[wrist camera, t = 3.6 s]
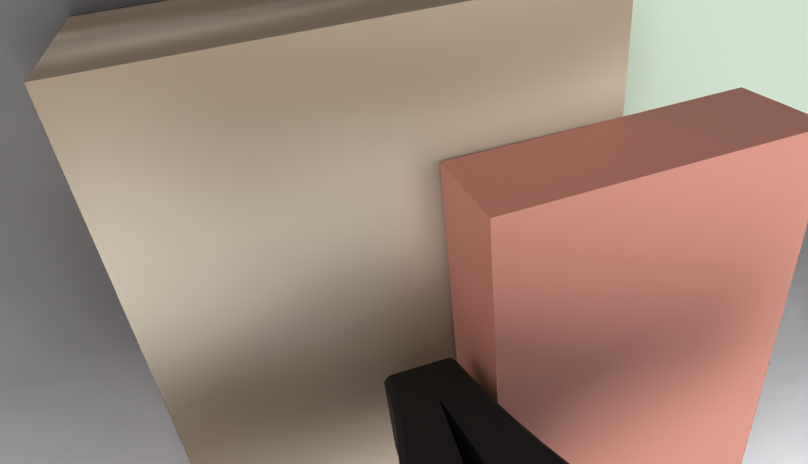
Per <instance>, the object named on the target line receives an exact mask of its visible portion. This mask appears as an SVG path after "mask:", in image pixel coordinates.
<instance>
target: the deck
mask: <svg viewBox="0 0 808 464" xmlns="http://www.w3.org/2000/svg"><path fill="white" fill-rule="evenodd" d="M632 9H633V0H168V1H162V2H156V3H150V4H144V5H138V6H132V7H126V8H120V9H114V10H108V11H102V12H96V13H90V14H84V15H78V16H72V17H68V18H67V20H66V21H65V23H64V24H63V26H62V27H61V29H60V30H59V32H58V33H57V35H56V36H55V37H54V39H53V40H52V42H51V43H50V45H49V46H48V48H47V49H46V51H45V52H44V54H43V55H42V57H41V58H40V60H39V61H38V63H37V64H36V66H35V67H34V69H33V70H32V71H31V73H30V74H29V76H28V77H27V79H26V80H25V82H24V83H25V86H26V88H27V90H28V93H29V95H30V97H31V99H32V102H33V104H34V106H35V109H36V111H37V113H38V115H39V118H40V120H41V122H42V125H43V127H44V129H45V131H46V134H47V136H48V138H49V141H50V143H51V145H52V147H53V150H54V152H55V154H56V156H57V159H58V161H59V163H60V166H61V168H62V170H63V172H64V175H65V177H66V179H67V182H68V184H69V186H70V188H71V191H72V193H73V195H74V198H75V200H76V202H77V204H78V207H79V209H80V211H81V214H82V216H83V218H84V220H85V223H86V225H87V227H88V229H89V232H90V234H91V236H92V239H93V241H94V243H95V245H96V248H97V250H98V252H99V255H100V257H101V259H102V261H103V264H104V266H105V268H106V271H107V273H108V275H109V277H110V280H111V282H112V284H113V287H114V289H115V291H116V293H117V296H118V298H119V300H120V302H121V305H122V307H123V309H124V312H125V314H126V316H127V318H128V321H129V323H130V325H131V328H132V330H133V332H134V334H135V337H136V339H137V341H138V344H139V346H140V348H141V350H142V353H143V355H144V357H145V360H146V362H147V364H148V366H149V369H150V371H151V373H152V375H153V378H154V380H155V382H156V385H157V387H158V389H159V391H160V394H161V396H162V398H163V401H164V403H165V405H166V407H167V410H168V412H169V414H170V417H171V419H172V421H173V423H174V426H175V428H176V430H177V433H178V435H179V437H180V439H181V442H182V444H183V446H184V448H185V451H186V453H187V455H188V458H189V460H190V462H191V464H399V457H398V454H397V450H396V447H395V442H394V436H393V431H392V425H391V419H390V414H389V408H388V402H387V396H386V391H385V385H384V381H385V380H386V379H387V377H388V376H389V375H393V374H396V373H399V372H403V371H406V370H409V369H413V368H416V367H419V366H423V365H426V364H429V363H433V362H436V361H439V360H443V359H446V358H449V357H451V358H452V359H454V360H456V361H457V356H456V345H455V333H454V322H453V310H452V299H451V287H450V276H449V264H448V253H447V241H446V230H445V219H444V207H443V196H442V184H441V173H440V162H442V161H446V160H450V159H454V158H458V157H462V156H466V155H470V154H474V153H478V152H482V151H486V150H490V149H494V148H498V147H502V146H507V145H511V144H515V143H519V142H523V141H527V140H531V139H535V138H539V137H543V136H547V135H551V134H555V133H559V132H563V131H567V130H571V129H575V128H579V127H583V126H587V125H591V124H595V123H599V122H603V121H607V120H611V119H615V118H619V117H623V114H624V102H625V91H626V79H627V68H628V56H629V44H630V33H631V21H632Z"/></svg>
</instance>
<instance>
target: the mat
mask: <svg viewBox="0 0 808 464" xmlns="http://www.w3.org/2000/svg"><path fill="white" fill-rule="evenodd" d="M740 87H742V88H745V89H747V90H750V91H752V92H755V93H757V94H760V95H762V96H765V97H767V98H770V99H772V100H775V101H777V102H780V103H782V104H785V105H787V106H790V107H792V108H795V109H797V110H799V111H802V112H804V113H807V114H808V0H633V9H632V21H631V33H630V44H629V56H628V68H627V79H626V91H625V102H624V114H623V116H627V115H631V114H635V113H639V112H643V111H647V110H652V109H656V108H660V107H664V106H668V105H672V104H676V103H680V102H684V101H688V100H692V99H696V98H700V97H704V96H708V95H712V94H716V93H720V92H724V91H728V90H732V89H736V88H740Z"/></svg>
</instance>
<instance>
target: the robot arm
mask: <svg viewBox="0 0 808 464" xmlns="http://www.w3.org/2000/svg"><path fill="white" fill-rule="evenodd" d="M384 385H385V391H386V396H387V402H388V408H389V414H390V419H391V425H392V431H393V436H394V442H395V447H396V450H397V454H398V457H399V464H569V463H568V462H567V461H566V460H564V459H563V458H562V457H560V456H559V455H558V454H557V453H555V452H554V451H553V450H551V449H550V448H549V447H548V446H547V445H545V444H544V443H543V442H542V441H540V440H539V439H538V438H537V437H536V436H534V435H533V434H532V433H531V432H530V431H529V430H528V429H526V428H525V427H524V426H523V425H522V424H521V423H519V422H518V421H517V420H516V419H515V418H514V417H513V416H511V415H510V414H509V413H508V412H507V411H506V410H505V409H504V408H503V407H502V406H500V405H499V404H498V403H497V402H496V401H495V400H494V399H493V398H492V397H491V396H490V395H489V394H488V393H487V392H486V391H485V390H484V389H483V388H482V387H481V386H480V385H479V384H478V383H477V382H476V381H475V380H474V379H473V378H472V377H471V376H470V375H469V374H468V373H467V372H466V371H465V370H464V369H463V368H462V367H461V365H460V364H459V363H458V362H457V361H456V360H454V359H452V358H451V357H449V358H446V359H443V360H439V361H436V362H433V363H429V364H426V365H423V366H419V367H416V368H413V369H409V370H406V371H403V372H399V373H396V374H393V375H389V376H388V377H387V379H386V380H385V381H384Z"/></svg>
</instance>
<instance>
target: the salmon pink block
mask: <svg viewBox="0 0 808 464" xmlns="http://www.w3.org/2000/svg"><path fill="white" fill-rule="evenodd" d="M440 173H441V184H442V196H443V207H444V219H445V230H446V241H447V253H448V264H449V276H450V287H451V299H452V310H453V322H454V333H455V345H456V356H457V362H458V363H459V364H460V365H461V367H462V368H463V369H464V370H465V371H466V372H467V373H468V374H469V375H470V376H471V377H472V378H473V379H474V380H475V381H476V382H477V383H478V384H479V385H480V386H481V387H482V388H483V389H484V390H485V391H486V392H487V393H488V394H489V395H490V396H491V397H492V398H493V399H494V400H495V401H496V402H497V403H498V404H499V405H500V406H502V407H503V408H504V409H505V410H506V411H507V412H508V413H509V414H510V415H511V416H513V417H514V418H515V419H516V420H517V421H518V422H519V423H521V424H522V425H523V426H524V427H525V428H526V429H528V430H529V431H530V432H531V433H532V434H533V435H534V436H536V437H537V438H538V439H539V440H540V441H542V442H543V443H544V444H545V445H547V446H548V447H549V448H550V449H551V450H553V451H554V452H555V453H557V454H558V455H559V456H560V457H562V458H563V459H564V460H566V461H567V462H568V463H569V464H741V463H742V460H743V456H744V452H745V449H746V445H747V441H748V438H749V434H750V431H751V427H752V423H753V420H754V416H755V412H756V409H757V405H758V401H759V398H760V394H761V390H762V387H763V383H764V379H765V376H766V372H767V369H768V365H769V361H770V358H771V354H772V350H773V347H774V343H775V339H776V336H777V332H778V328H779V325H780V321H781V318H782V314H783V310H784V307H785V303H786V299H787V296H788V292H789V288H790V285H791V281H792V277H793V274H794V270H795V267H796V263H797V259H798V256H799V252H800V248H801V245H802V241H803V237H804V234H805V230H806V226H807V223H808V114H807V113H804V112H802V111H799V110H797V109H795V108H792V107H790V106H787V105H785V104H782V103H780V102H777V101H775V100H772V99H770V98H767V97H765V96H762V95H760V94H757V93H755V92H752V91H750V90H747V89H745V88H742V87H740V88H736V89H732V90H728V91H724V92H720V93H716V94H712V95H708V96H704V97H700V98H696V99H692V100H688V101H684V102H680V103H676V104H672V105H668V106H664V107H660V108H656V109H652V110H647V111H643V112H639V113H635V114H631V115H627V116H623V117H619V118H615V119H611V120H607V121H603V122H599V123H595V124H591V125H587V126H583V127H579V128H575V129H571V130H567V131H563V132H559V133H555V134H551V135H547V136H543V137H539V138H535V139H531V140H527V141H523V142H519V143H515V144H511V145H507V146H502V147H498V148H494V149H490V150H486V151H482V152H478V153H474V154H470V155H466V156H462V157H458V158H454V159H450V160H446V161H442V162H440Z"/></svg>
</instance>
